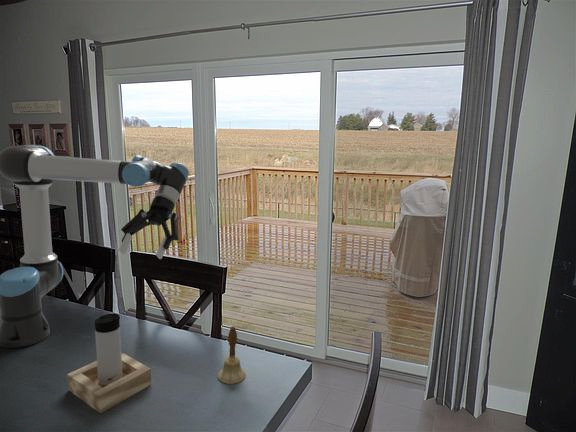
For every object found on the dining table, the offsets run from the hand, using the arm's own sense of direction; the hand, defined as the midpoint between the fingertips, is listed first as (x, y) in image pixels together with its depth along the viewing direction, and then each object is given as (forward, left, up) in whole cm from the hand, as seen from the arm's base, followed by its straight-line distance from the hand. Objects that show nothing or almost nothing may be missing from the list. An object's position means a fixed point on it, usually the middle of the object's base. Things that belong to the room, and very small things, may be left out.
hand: (139, 254), depth 129 cm
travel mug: (+12, -19, -31) cm, 38 cm away
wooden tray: (+12, -19, -32) cm, 39 cm away
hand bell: (+35, +6, -32) cm, 48 cm away
